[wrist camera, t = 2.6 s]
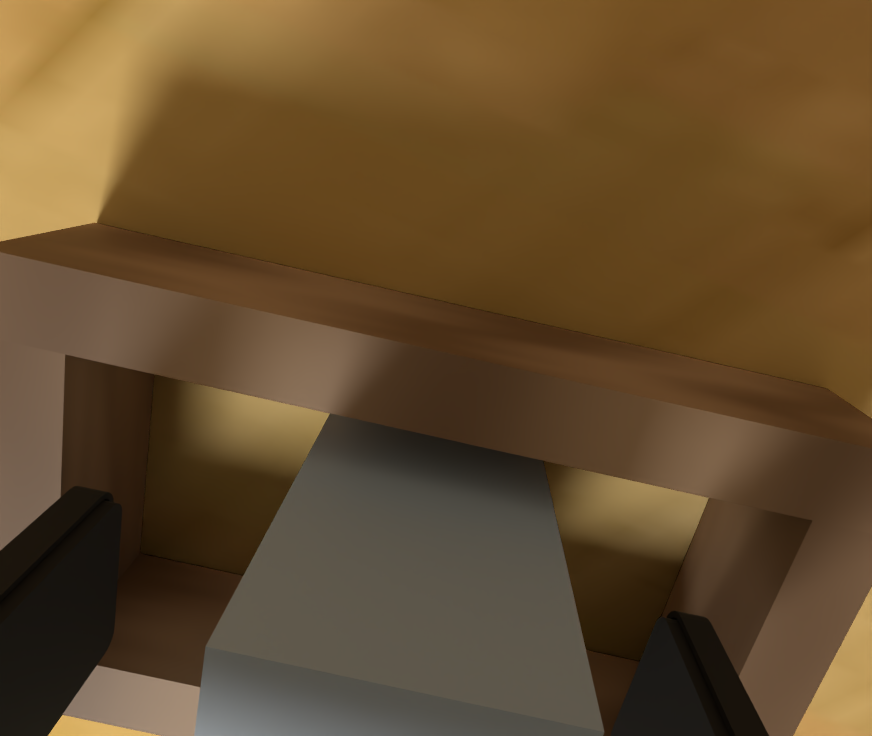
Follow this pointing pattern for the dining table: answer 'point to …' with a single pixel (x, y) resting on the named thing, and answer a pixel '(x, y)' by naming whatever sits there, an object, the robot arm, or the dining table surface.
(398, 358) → the pocket
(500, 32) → the dining table surface
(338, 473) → the gray block
